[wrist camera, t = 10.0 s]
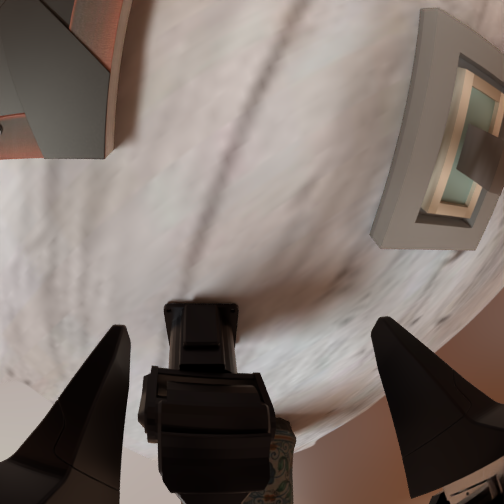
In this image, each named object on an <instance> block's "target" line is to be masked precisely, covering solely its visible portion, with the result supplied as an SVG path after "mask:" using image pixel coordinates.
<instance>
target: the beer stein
mask: <svg viewBox="0 0 504 504" xmlns="http://www.w3.org/2000/svg"><path fill="white" fill-rule="evenodd" d="M295 444H296V437H295V435H294V433H293V432H292V429H291V426H290V423H289V422H288V421H286V420H283V419H281V418H276V432H275V437H274V440H273V442H272V443H271V444H270V454H269V465H270V480H269V482H268V484H267V486H266V488H265V490H264V491H258V492H251V493H250V495H249V496H248V497H247V498H246V499H245V501H244V502H243V504H293V480H292V464H293V452H294V447H295Z"/></svg>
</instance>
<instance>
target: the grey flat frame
mask: <svg viewBox="0 0 504 504" xmlns="http://www.w3.org/2000/svg"><path fill="white" fill-rule="evenodd" d="M458 67H460V68H464V69H467V70H469V71H470V72H472V73H474V74H475V75H477V76H478V77H480V78H481V79H483V80H484V81H486V82H487V83H489V84H490V85H492V86H493V87H495V88H496V89H497V90H499V91H500V92H502V93H503V94H504V54H503V53H502V52H501V51H499V50H498V49H497V48H496V47H494V46H493V45H492V44H491V43H489V42H488V41H487V40H486V39H484V38H483V37H482V36H480V35H479V34H477V33H476V32H475V31H473V30H472V29H470V28H469V27H468V26H466V25H465V24H463V23H462V22H460V21H459V20H457V19H456V18H454V17H452V16H451V15H449V14H448V13H446V12H444V11H443V10H441V9H439V8H425V9H420V20H419V29H418V37H417V45H416V52H415V59H414V65H413V71H412V77H411V82H410V88H409V93H408V98H407V103H406V108H405V112H404V117H403V121H402V125H401V130H400V134H399V138H398V142H397V146H396V150H395V153H394V157H393V161H392V165H391V168H390V172H389V175H388V179H387V182H386V185H385V189H384V192H383V195H382V198H381V202H380V205H379V208H378V211H377V214H376V217H375V220H374V223H373V226H372V229H371V232H370V236H371V237H372V238H373V240H374V241H375V242H376V244H377V245H378V246H379V248H380V249H426V250H476V248H477V246H478V244H479V242H480V240H481V238H482V235H483V233H484V231H485V229H486V227H487V225H488V222H489V220H490V218H491V215H492V213H493V211H494V208H495V206H496V203H497V201H498V198H499V196H500V195H497V194H494V193H491V192H488V191H487V190H486V189H484V188H483V187H482V189H481V192H480V195H479V197H478V200H477V202H476V205H475V207H474V210H473V212H472V215H471V217H470V218H463V217H455V216H448V215H440V214H432V213H427V212H426V211H425V210H424V209H422V208H421V205H422V202H423V199H424V197H425V194H426V191H427V188H428V185H429V182H430V179H431V176H432V173H433V170H434V166H435V163H436V160H437V156H438V153H439V150H440V146H441V142H442V139H443V135H444V131H445V127H446V123H447V119H448V115H449V110H450V106H451V101H452V96H453V91H454V86H455V80H456V74H457V68H458ZM498 138H500V139H502V140H504V114H503V119H502V123H501V127H500V131H499V135H498Z"/></svg>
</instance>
